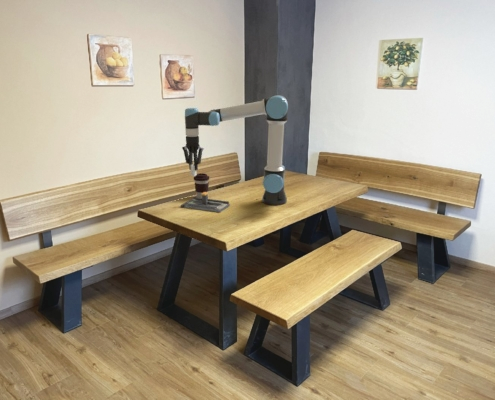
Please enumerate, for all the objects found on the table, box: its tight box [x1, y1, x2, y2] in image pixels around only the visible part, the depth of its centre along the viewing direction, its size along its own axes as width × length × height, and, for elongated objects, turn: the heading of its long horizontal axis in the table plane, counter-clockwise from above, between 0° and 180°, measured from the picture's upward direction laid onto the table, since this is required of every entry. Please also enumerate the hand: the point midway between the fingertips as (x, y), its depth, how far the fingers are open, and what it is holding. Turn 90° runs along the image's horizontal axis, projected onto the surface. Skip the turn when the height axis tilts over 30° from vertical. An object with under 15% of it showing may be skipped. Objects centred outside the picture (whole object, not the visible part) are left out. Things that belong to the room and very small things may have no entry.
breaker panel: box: [184, 199, 231, 213], centre depth 249 cm, size 26×13×2 cm, turn 68°
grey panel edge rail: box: [180, 198, 194, 209], centre depth 253 cm, size 2×14×2 cm, turn 158°
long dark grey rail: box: [192, 197, 230, 204], centre depth 258 cm, size 24×3×2 cm, turn 68°
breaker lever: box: [201, 191, 209, 205], centre depth 248 cm, size 2×4×7 cm, turn 157°
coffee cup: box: [193, 172, 210, 198], centre depth 266 cm, size 10×10×15 cm
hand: (193, 175), depth 246 cm, fingers closed
